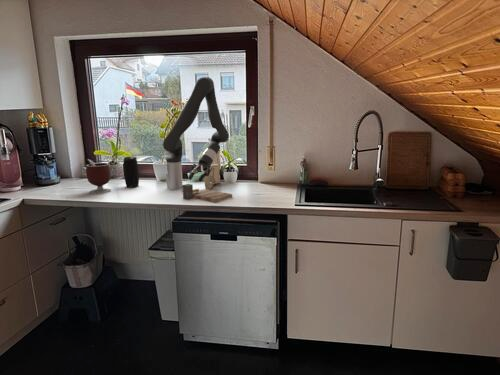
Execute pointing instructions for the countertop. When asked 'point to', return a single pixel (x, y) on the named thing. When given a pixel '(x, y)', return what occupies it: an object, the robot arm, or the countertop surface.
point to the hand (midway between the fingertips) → (194, 180)
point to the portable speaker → (131, 171)
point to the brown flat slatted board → (211, 195)
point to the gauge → (188, 191)
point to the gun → (212, 177)
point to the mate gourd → (98, 176)
